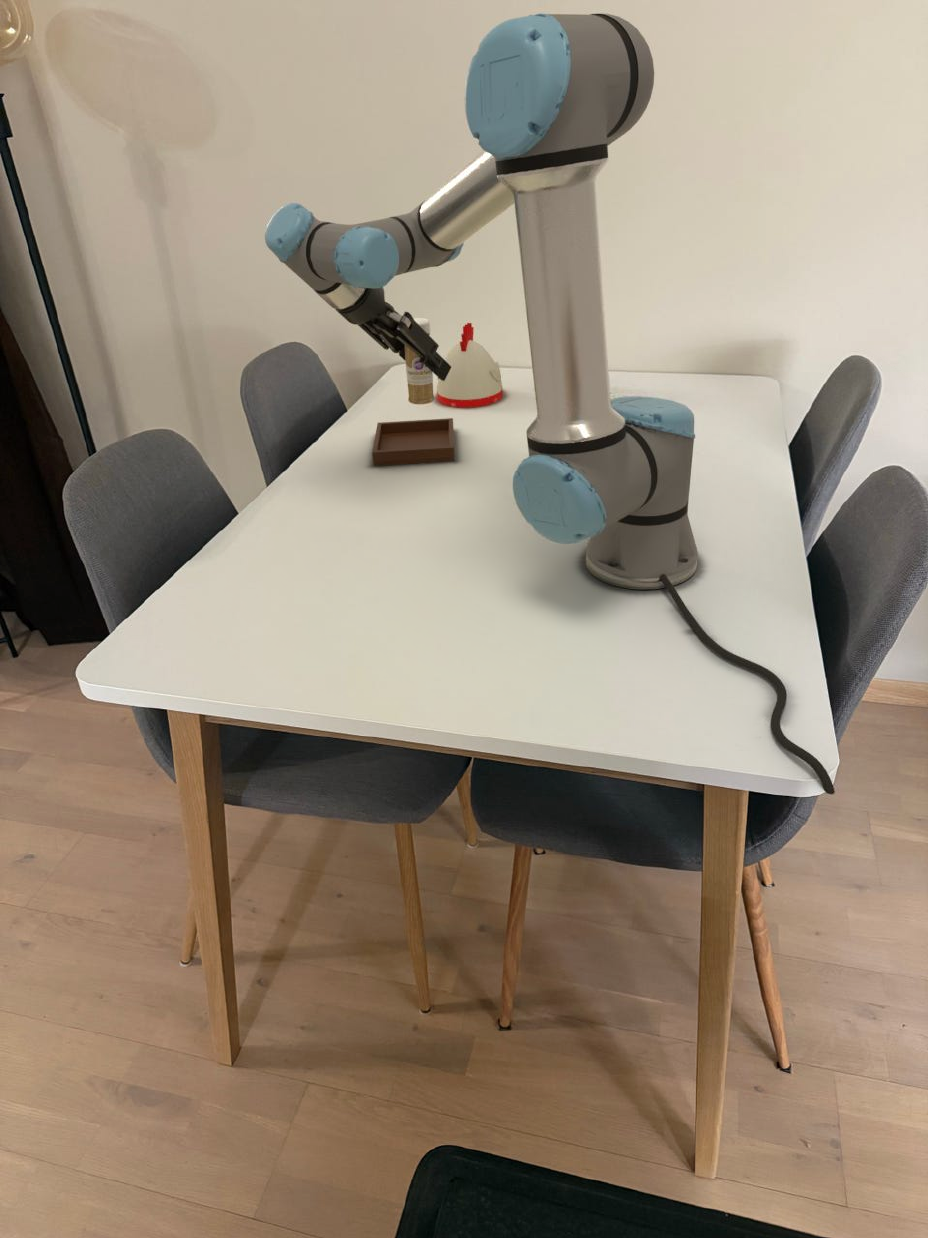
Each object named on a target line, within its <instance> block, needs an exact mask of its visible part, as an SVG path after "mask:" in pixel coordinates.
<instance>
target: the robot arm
mask: <svg viewBox="0 0 928 1238" xmlns="http://www.w3.org/2000/svg"><path fill="white" fill-rule="evenodd" d="M477 48H478V49H477V51H476V53H475V54H473V56H472V58H471V60H470V63H469V66H468V70H467V74H466V77H465V78H466V79H465V84H464V111H465V118H466V120H467V125H468V128H469V130H470V133H471V135H472V137H473V138H474V139H477V140H478V145H479V147H480V148H481V149H482V150H480V151H479V152H478V153H477V154H476V155H475V156H473V157H472V158H471V159H470V160H469V161H468V162H467V163H465V164H464V165H463V166H462V167H461V168H460V169H459V170H457V171H456V172H455V173H454V174H453V175H452V176H451V177H449V178H448V179H447V180H446V181H445V182H444V183H442V184H441V185H440V186H439V187H438V188H437V189H435V190H434V191H433V192H432V193H431V194H430V195H428V197H427V198H426V199H425V200H423V201H422V202H421V203H420V204H418V205H417V206H416V207H415V208H414V209H412V210H411V211H409V212H407V213H404V214H403V213H402V214H399V215H394V216H390V217H386V218H381V219H375V220H370V221H365V222H364V221H363V222H360V223H353V224H343V223H336V222H330V221H323V220H322V221H321V220H319V219H318V218H317V217H315V216H314V213H313V212H312V211H310V210H308V208H306V207H305V206H303V205H302V204H300V203H298V202H289V203H286V204H284V205H283V206H281V207H280V208H279V209H277V210H276V211H275V213H274V214H273V215H272V216H271V217H270V220H269V221H268V223H267V225H266V227H265V232H264V242H265V245H266V246H267V248H268V249H269V251H271V252H272V253H273V254H274V256H276V257H277V258H278V261H279V262H280V263H282V264H284V265H285V266H286V267H287V268H289V270H291V271H292V273H294V274H295V275H297V276H298V277H299V278H300V280H302V281H303V282H304V283H305V284H307V286H309V287H310V288H311V289H312V290H313V291H314V292H315V294H317V295H318V296H319V297H320V298H321V299H322V301H324V302H325V303H326V304H328V305H329V307H331V308H333V309H334V310H335V311H336V312H337V313H338V314H339V315H340V316H341V317H343V318H344V320H346V322H348V323H350V324H351V325H357V326H358V327H359V328H360V329H362V330H363V331H364V332H365V333H366V334H367V335H368V336H369V337H371V339H373V341H375V342H376V343H377V344H378V345H379V346H381V347H382V349H384V350H387V351H388V350H389V349H390V351H391V352H392V353H393V354H398V356H399V357H400V358H401V359H402V360H403V361H405V345H406V346H407V347H408V348H410V349H411V350H412V351H413V352H415V353H416V354H417V355H418V356H420V357H421V358H420V361H419V362H420V363H422V364H425V365H426V366H427V367H428V368H429V369H430V370H431V371H432V374H433V375H435V376H436V377H437V379H438V378H439V379H441V380H442V381H445V379H446V377H447V375H448V373H449V371H450V369H451V366H450V365H449V364H448V363H447V362H446V361H445V358H444V357H442V356H441V354H440V353H439V352H437V351H438V349H439V347H440V345H439V344H438V342H437V341H435V339H433V338H432V337H431V335H428V334H427V333H426V332H425V331H424V330H423V329H422V328H421V327H420V326H419V325H418V324H417V323H416V321H415V320H414V319H413V318H414V317H413V316H412V314H411V313H410V312H409V311H404V312H403V314H400V313H399V312H397V310H395V308H394V307H393V305H391V304H390V303H389V302H387V301H386V299H385V297H386V296H385V289H384V287H386V286H387V285H388V284H389V283H390V282H391V281H392V280H393V279H394V278H395V277H396V276H400V275H403V274H408V273H411V272H416V271H420V270H423V269H428V268H436V267H440V266H442V265H444V264H446V263H449V262H452V261H454V260H455V259H457V258H458V257H459V255H460V254H461V251H462V249H463V246H464V245H465V242H466V241H468V240H469V239H470V238H472V237H473V236H474V235H476V234H477V233H478V232H479V231H482V229H483V228H485V227H486V226H487V225H489V224H490V223H491V222H493V221H494V220H496V219H497V218H498V217H500V216H501V215H502V214H503V213H505V212H506V211H508V210H509V209H510V208H512V207H513V206H514V212H515V220H516V221H515V222H516V231H517V239H518V249H519V257H520V266H521V267H520V268H521V277H522V286H523V295H524V304H525V312H526V313H525V314H526V323H527V331H528V340H529V349H530V360H531V369H532V377H533V387H534V395H535V396H534V397H535V405H536V406H535V407H536V417H535V418H534V420H533V421H532V422H531V423H530V425H529V426H528V427H527V429H526V442H527V450H528V457H526V458H524V459H522V460H521V462H520V463H519V464H518V467H517V469H516V470H515V471H514V473H513V477H512V494H513V498H514V501H515V503H516V507H517V508H518V510H519V512H520V515H522V517H523V518H524V520H525V521H526V522H527V523H528V524H529V525H530V526H531V527H532V528H533V530H534V531H535V532H536V533H538V535H540V536H542V537H543V538H545V539H547V540H549V541H551V542H553V543H557V544H560V545H572V544H573V545H574V544H577V543H580V542H582V541H584V540H586V539H588V538H589V540H588V543H587V545H586V547H585V548H586V549H585V566H586V568H587V570H588V571H589V572H590V574H591V575H592V576H594V577H595V578H597V579H598V580H600V581H602V582H603V583H607V584H608V585H612V586H616V587H619V588H625V589H631V590H658V589H659V590H660V589H666V590H667V592H668V594H669V595H670V596H671V598H672V600H673V601H674V603H675V605H676V606H677V608H678V610H679V611H680V613H681V614H682V616H683V617H684V618H685V620H686V621H687V623H688V624H689V625H690V627H691V628H692V629H693V631H694V633H695V634H696V635H697V636H698V637H699V639H700V640H701V641H702V642H703V643H704V644H705V645H707V647H708V648H710V649H711V651H713V652H714V653H716V654H717V655H718V656H720V657H722V658H723V659H725V660H727V661H729V662H730V663H733V664H735V665H738V666H739V667H743V668H745V669H746V670H747V669H748V670H750V671H752V672H754V673H756V674H758V675H760V676H763V677H764V678H765V679H766V680H767V681H768V682H770V683H771V684H772V685H773V687H774V688H775V689H776V692H777V699H776V702H775V704H774V708H773V710H772V712H771V716H770V729H771V732H772V735H773V736H774V738H775V740H776V741H777V743H778V744H779V745H780V746H781V747H783V749H785V750H786V751H788V752H789V753H791V754H792V755H794V756H796V757H797V758H799V759H800V760H802V761H803V762H805V763H806V765H808V766H809V767H810V768H811V769H812V770H813V771H814V772H815V774H816V776H817V777H818V779H819V781H820V783H821V785H822V788H823V791H824V792H825V793H826V794H828V795H834V794H835V792H836V791H835V788H834V784H833V781H832V779H831V776H830V775H829V773H828V771H827V769H826V768H825V767H824V766H823V764H822V763H821V761H819V759H818V758H816V757H815V756H814V755H813V754H811V752H809V751H807V750H806V749H804V748H802V747H800V746H799V745H797V744H796V743H794V742H793V741H791V740H790V739H789V738H787V736H786V735H785V734H784V732H783V730H782V728H781V717H782V715H783V712H784V709H785V706H786V702H787V698H788V697H787V689H786V686H785V685H784V683H783V681H782V680H781V679H780V678H779V677H778V676H777V675H776V674H775V673H774V672H773V671H771V670H770V669H768V668H766V667H764V666H763V665H760V664H758V663H756V662H755V661H752V660H749V659H746V658H745V657H741V656H739V655H737V654H735V653H733V652H731V651H729V650H727V649H726V648H724V647H722V646H721V645H720V644H718V643H717V642H716V641H715V640H714V639H713V638H711V637H710V636H709V634H707V632H706V631H705V630H704V629H703V628H702V626H701V625H700V624H699V622H698V621H697V620H696V618H695V616H693V614H692V613H691V612H690V610H689V609H688V606H686V604H685V602H684V600H683V599H682V597H681V596H680V594H679V592H678V591H677V589H675V587H674V586H676V585H679V584H681V583H683V582H686V581H687V580H688V579H690V578H691V577H692V576H693V575H694V574H695V573H696V571H697V567H698V558H699V553H698V547H697V543H696V540H695V536H694V533H693V530H692V526H691V522H690V519H689V513H688V512H689V498H690V489H691V478H692V467H693V466H692V465H693V453H694V444H695V439H696V434H695V415H694V412H693V411H692V410H691V409H690V408H689V407H688V406H687V405H685V404H683V403H681V402H678V401H675V400H671V399H666V398H662V397H654V396H653V397H652V396H636V395H635V396H631V395H630V396H619V397H614V398H611V388H610V373H609V360H608V358H609V357H608V345H607V330H606V319H605V317H606V316H605V303H604V302H605V301H604V290H603V288H604V287H603V273H602V262H601V261H602V260H601V245H600V233H599V219H598V218H599V217H598V205H597V191H596V181H597V178H598V176H599V175H600V173H601V172H602V171H603V169H604V168H605V167H606V165H607V164H608V162H609V147H608V146H609V145H611V144H613V143H614V142H616V141H617V140H618V139H620V138H621V137H623V136H624V135H626V133H628V132H629V131H631V130H632V128H633V127H635V125H636V124H637V123H638V122H639V121H640V119H641V118H642V116H643V115H644V113H645V112H646V110H647V108H648V106H649V103H650V100H651V99H652V94H653V89H654V83H655V67H654V66H655V65H654V59H653V55H652V52H651V48H650V46H649V44H648V43H647V40H646V39H645V37H644V36H643V34H642V33H641V31H640V30H639V29H638V28H637V27H636V26H635V25H633V24H632V23H631V22H630V21H628V20H626V19H624V18H622V17H621V16H618V15H614V14H610V13H589V14H576V13H575V14H574V13H571V14H570V13H569V14H567V13H561V14H560V13H541V12H540V13H536V14H529V15H526V16H521V17H514V18H510V19H507V20H504V21H503V22H501V23H499V24H497V25H495V26H494V27H493V28H492V29H491V30H490V31H488V33H487V34H486V35H485V36H484V37H483V38H482V39H481V41H480V43H478V47H477Z"/></svg>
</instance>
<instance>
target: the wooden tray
mask: <svg viewBox="0 0 928 1238" xmlns="http://www.w3.org/2000/svg"><path fill="white" fill-rule="evenodd" d="M454 428H455V427H454V418H453V417H449V418H448V417H447V418H434V419H433V418H432V419H416V420H399V421H384V422H383V421H382V422H377V424H376V429H375V435H374V441H373V446H372V452H371V454H372V463H373V466H374V467H378V466H393V465H394V466H395V465H411V464H412V465H413V464H426V463H442V462H455V429H454Z"/></svg>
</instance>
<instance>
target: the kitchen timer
mask: <svg viewBox="0 0 928 1238" xmlns="http://www.w3.org/2000/svg"><path fill="white" fill-rule="evenodd" d="M474 328H475V327H474V326H473V324H472V322H466V324H464V325H463V326H462V333H461V334H460V336H461V341H459V342H458V343H456V344H455V345H454V346H453V347H452V348H451V349H450V350H449V352H448V353H447V354H446V356H445V358H444V360H445V361H446V362H447V363H448V364H449V365H450V366H451V369H450V371H449V373H448V375H447V377H446V379H445V381H442V380H441V379H439V378H438V377H437V380H438V381H437V386H436V396H437V401H438V403H440V404H442V405H444V406H447V407H452V408H465V409H466V408H468V409H469V408H478V407H484V406H488V405H491V404H495V403H496V402H497V403H498V402H499V401H500V400H501V399H502V398H503V382H502V374H501V370H500V364H499V361H494V359H493V357H492V356H491V354H490V353H489V351H488V350H487V349H486V348H485V347H484V346H483V345H481V344H480V343H479V342H477V341H474V330H475V329H474Z"/></svg>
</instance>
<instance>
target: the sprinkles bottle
mask: <svg viewBox="0 0 928 1238" xmlns="http://www.w3.org/2000/svg"><path fill="white" fill-rule="evenodd" d="M413 319H414V320H415V321H416V323H417V324H418V325H419V326H420V327H421V328H422V329H423V330H424V331H425V332H426V333H427V334H428V335H429V336H431V323H430V320H429V319H427V318H425V317H413ZM420 358H421V357H420V356H418V355H417V354H416V353H415V352H413V351H412V350H411V349H410V348H408V347H407V346H406V345H405V360H404V361H405V370H406V371H405V372H406V381H407V392H408V398H407V401H408V402H409V403H410V404H412V405H427V404H431V403H433V402H434V401H435V396H434V395H435V394H434V373H433V372H432V371H431V370H430V369H429V368H428V367H427V366H426V365H425V364H422V363H420V362H419V361H420Z"/></svg>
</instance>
